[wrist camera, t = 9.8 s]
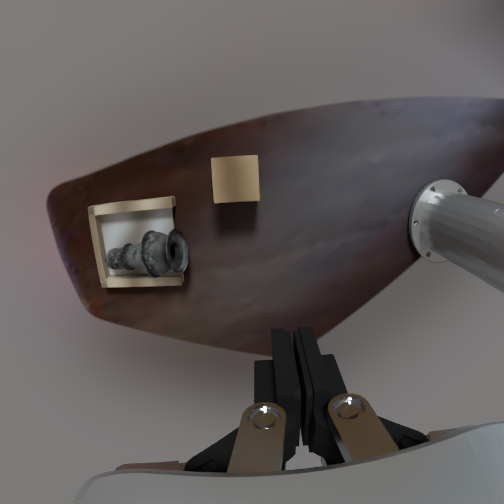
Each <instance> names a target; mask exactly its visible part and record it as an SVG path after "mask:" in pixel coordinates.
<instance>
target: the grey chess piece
mask: <svg viewBox="0 0 504 504" xmlns="http://www.w3.org/2000/svg"><path fill="white" fill-rule="evenodd" d="M104 261H105V262H106V263H107V265H108V267H109V268H111V269H114V270H116V269H127V270H128V271H133V270H134V269H135V268H144V270H145V271H146V273H147V274H148V275H149V276H151V277H153V278H157V277H160V276H161V275H162V274H165V273H167V272H168V271H170V270H171V268H172V269H173V271H175V272H176V273H183V272H184V271H185V269H186V267H187V264H188V246H187V242H186V239H185V237H184V235H183V233H182V232H181V231H180V230H178V229H173V230H171V231H170V233H169V234H168V236H167V235H166V234H164V233H161V232H156V231H153V230H149V231H147V232H146V233H145V234H144V235H143V237H142V240H141V243H140V244H136V245H132V244H131V243H127V244H125V245H124V246H123V247H120V248H114V249H111V250H109V251H108V253H107V255H106V258H105V260H104Z"/></svg>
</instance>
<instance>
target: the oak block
mask: <svg viewBox="0 0 504 504" xmlns="http://www.w3.org/2000/svg"><path fill="white" fill-rule="evenodd" d="M211 164H212V180H213V195H214V203H227V202H243V201H260V194H259V173H258V155H250V156H232V157H218V158H211Z"/></svg>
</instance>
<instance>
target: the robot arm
mask: <svg viewBox="0 0 504 504" xmlns="http://www.w3.org/2000/svg"><path fill="white" fill-rule="evenodd" d="M414 221H415V222H414ZM409 233H410V238H411V241H412V244H413V246H414V248H415V249H416V251H417V252H418V253H419V254H420V255H421V256H422V257H423V258H425V259H426V260H429V261H431V262H436V263H442V262H446V261H451V262H453V263H454V264H456V265H458V266H459V267H461V268H463V269H464V270H466V271H468V272H470V273H471V274H473V275H474V276H476V277H478V278H479V279H481V280H483V281H484V282H486V283H487V284H489V285H491V286H492V287H494V288H496V289H497V290H499V291H500V292H502V293H504V204H501V203H497V202H494V201H490V200H486V199H482V198H478V197H474V196H470V195H468V194H467V193H466V191H465V190H464V189H463V188H462V187H461V186H460V185H459V184H458V183H456V182H454V181H450V180H443V179H440V180H435V181H433V182H431V183H429V184H427V185H426V186H425V187H424V188H423V189H422V190H421V191H420V192H419V193H418V195H417V197H416V198H415V200H414V203H413V205H412V208H411V212H410V216H409ZM271 337H272V357H273V360H259V361H255V362H254V404H253V405H251V406H250V407H248V408H247V409H246V410H245V411H244V413H243V415H242V418H241V422H240V426H239V427H238V428H237V429H235V430H234V431H232V432H231V433H229V434H228V435H227V436H225V437H224V438H222V439H221V440H219V441H218V442H216V443H215V444H213V445H211V446H210V447H208V448H207V449H205V450H204V451H202V452H200V453H199V454H197V455H196V456H194V457H192V458H191V459H190V460H189V461H188V462H186V463H179V461H169V462H157V463H135V464H124V465H121V466H119V467H117V468H116V469H115V471H110V472H106V473H102V474H98V475H96V476H94V477H92V478H90V479H89V480H88V481H86V482H85V483H84V484H83V485H82V487H81V488H80V489H79V491H78V492H77V494H76V496H75V497H74V499H73V501H72V503H71V504H504V421H503V422H492V423H486V424H481V425H477V426H466V427H460V428H453V429H447V430H440V431H432V432H429V433H428V435H424V434H423V433H421V432H419V431H416V430H413V429H411V428H408V427H405V426H402V425H400V424H397V423H394V422H392V421H389V420H386V419H384V418H381V417H379V416H377V415H376V413H375V412H374V410H373V409H372V407H371V406H370V404H369V403H368V401H367V400H366V399H365V398H364V397H362V396H360V395H357V394H351V393H349V394H348V393H347V390H346V387H345V384H344V382H343V379H342V376H341V374H340V371H339V368H338V366H337V363H336V360H335V357H334V355H333V354H328V355H321V353H320V350H319V347H318V344H317V341H316V338H315V335H314V332H313V328H312V326H305V327H298V331H293V346H292V341H291V336H290V331H286V332H285V330H284V328H281V329H271ZM300 429H301V435H302V441H303V446H305V445H308V447H309V452H313V453H315V454H317V455H319V456H321V463H322V465H323V466H321V467H313V468H306V469H296V470H286V462H287V461H288V460H289V459H291V458H292V457H293V456H294V455H295V450H296V446H299V436H300Z"/></svg>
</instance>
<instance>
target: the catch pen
mask: <svg viewBox="0 0 504 504" xmlns="http://www.w3.org/2000/svg"><path fill="white" fill-rule="evenodd" d="M174 206H176V203H175V196H171V197H161V198H151V199H142V200H133V201H124V202H116V203H108V204H100V205H93V206H90V207H88V214H89V221H90V228H91V234H92V240H93V246H94V252H95V257H96V262H97V267H98V272H99V277H100V281H101V286H102V288H107V287H148V286H177V285H182V284H183V282H184V274H183V273H176V272H175V271H173V269H172V268H171V270H170V271H168V272H167V273H165V274H162V275H161V276H160V277H157V278H153V277H151V276H149V275H148V274H147V273H146V271H145V270H144V268H135V269H134V270H133V271H128V270H127V269H116V270H114V269H111V268H109V267H108V265H107V263H106V262H105V261H104V260H105V258H106V255H107V253H108V251H109V250H111V249H114V248H120V247H123V246H124V245H125V244H127V243H131V244H132V245H136V244H140V243H141V240H142V237H143V235H144V234H145V233H146V232H147V231H149V230H153V231H156V232H161V233H164V234H166V235H167V236H168V234H169V233H170V231H171V230H173V229H174V221H173V211H172V208H173V207H174Z"/></svg>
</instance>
